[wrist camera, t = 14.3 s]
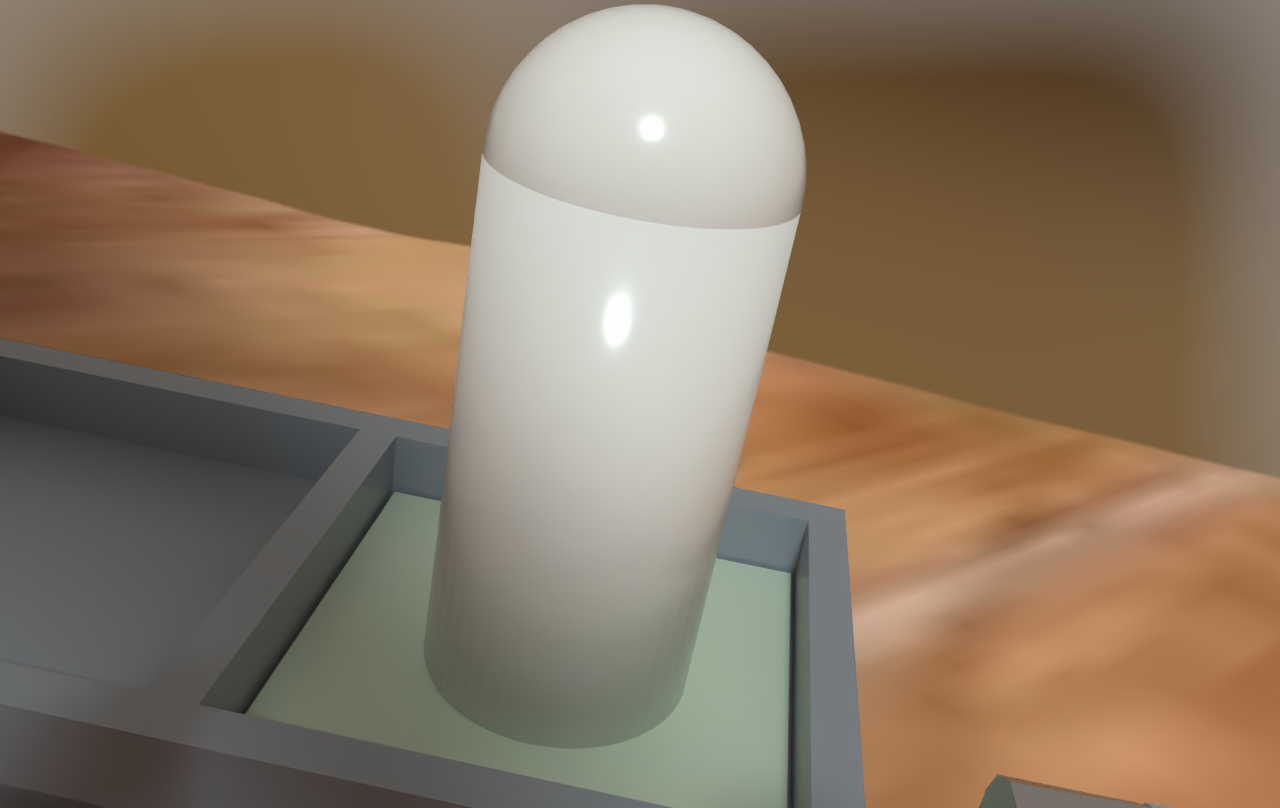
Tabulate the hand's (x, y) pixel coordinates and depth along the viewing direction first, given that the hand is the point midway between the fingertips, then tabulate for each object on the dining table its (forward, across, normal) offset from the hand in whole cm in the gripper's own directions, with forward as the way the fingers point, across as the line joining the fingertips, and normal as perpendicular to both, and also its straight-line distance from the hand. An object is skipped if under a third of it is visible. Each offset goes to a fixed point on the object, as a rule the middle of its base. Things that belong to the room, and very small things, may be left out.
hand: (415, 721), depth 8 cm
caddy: (+11, +5, +9) cm, 15 cm away
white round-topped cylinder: (+11, 0, +7) cm, 13 cm away
